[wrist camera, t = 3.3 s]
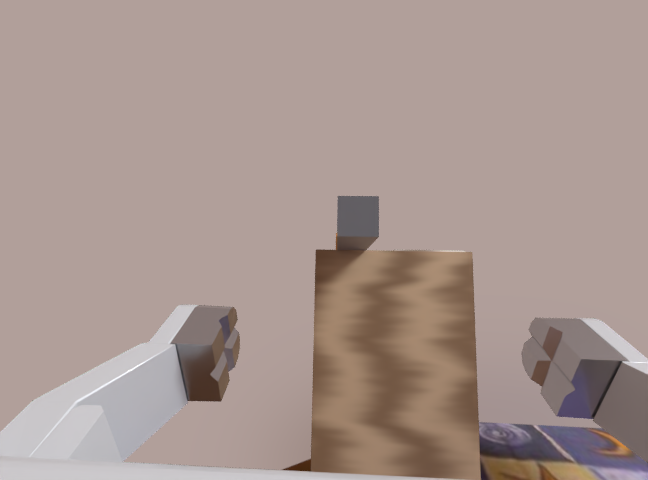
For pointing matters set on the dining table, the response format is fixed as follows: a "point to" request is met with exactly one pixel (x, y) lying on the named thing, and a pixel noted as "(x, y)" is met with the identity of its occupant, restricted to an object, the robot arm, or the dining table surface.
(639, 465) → the dining table surface
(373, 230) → the marker
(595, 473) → the dining table surface
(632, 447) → the robot arm
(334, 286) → the wood grain block
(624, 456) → the dining table surface
